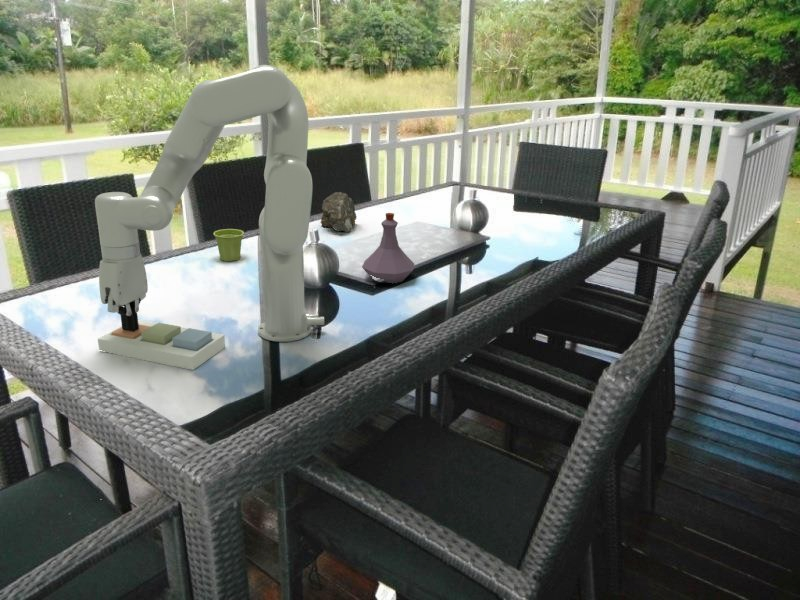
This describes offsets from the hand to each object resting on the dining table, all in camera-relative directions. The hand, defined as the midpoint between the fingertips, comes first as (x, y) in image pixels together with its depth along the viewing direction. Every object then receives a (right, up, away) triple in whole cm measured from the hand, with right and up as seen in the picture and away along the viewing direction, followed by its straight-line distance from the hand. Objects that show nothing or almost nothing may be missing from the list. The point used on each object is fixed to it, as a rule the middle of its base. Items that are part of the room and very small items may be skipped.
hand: (130, 329), depth 141 cm
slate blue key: (+15, -3, -4) cm, 16 cm away
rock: (+37, +34, +101) cm, 113 cm away
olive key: (+8, -2, -2) cm, 8 cm away
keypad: (+8, -4, -1) cm, 9 cm away
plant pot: (+6, +20, +62) cm, 65 cm away
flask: (+57, +13, +49) cm, 76 cm away
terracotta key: (0, -2, +1) cm, 2 cm away
